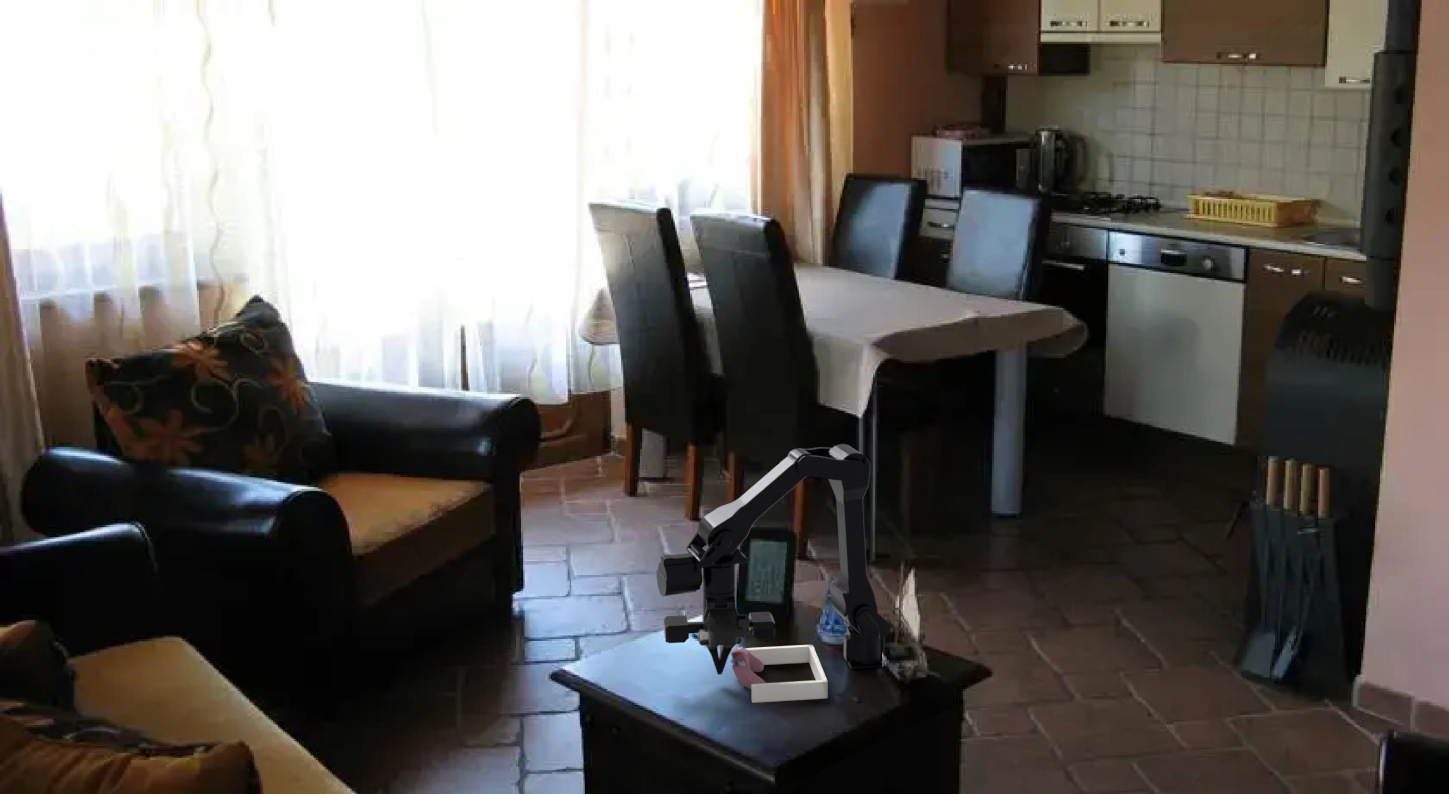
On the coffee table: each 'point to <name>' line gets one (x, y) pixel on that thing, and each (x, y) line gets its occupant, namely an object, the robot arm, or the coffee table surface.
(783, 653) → the white u-shaped bracket
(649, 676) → the coffee table surface
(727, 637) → the robot arm
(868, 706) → the coffee table surface
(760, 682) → the pink curved piece
